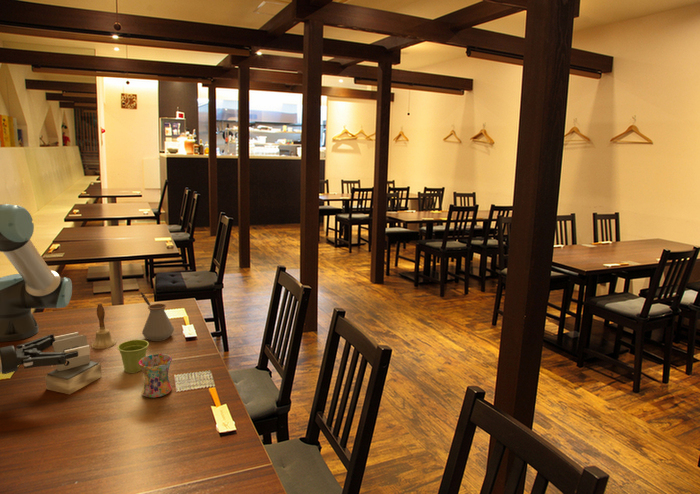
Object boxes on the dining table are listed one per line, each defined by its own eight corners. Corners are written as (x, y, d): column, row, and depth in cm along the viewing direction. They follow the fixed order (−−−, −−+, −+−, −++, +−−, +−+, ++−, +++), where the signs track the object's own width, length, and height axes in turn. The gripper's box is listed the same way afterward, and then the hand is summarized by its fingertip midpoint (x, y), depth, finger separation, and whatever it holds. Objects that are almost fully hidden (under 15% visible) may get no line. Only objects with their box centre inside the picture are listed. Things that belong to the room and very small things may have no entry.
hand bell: (100, 350, 170) (96, 309, 166) (86, 345, 174) (82, 304, 170) (120, 343, 177) (118, 303, 173) (107, 338, 181) (104, 298, 177)
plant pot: (152, 362, 162) (150, 338, 160) (147, 374, 153) (146, 350, 151) (122, 364, 160) (121, 340, 158) (116, 377, 151) (114, 352, 149)
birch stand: (79, 372, 153) (78, 357, 152) (101, 376, 151) (100, 362, 150) (46, 389, 142) (44, 373, 141) (69, 394, 140) (67, 379, 139)
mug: (177, 394, 142) (175, 362, 139) (144, 403, 136) (142, 370, 134) (166, 378, 151) (164, 348, 149) (135, 386, 146) (133, 354, 143)
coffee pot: (179, 338, 183) (177, 301, 180) (149, 346, 175) (147, 307, 172) (156, 322, 198) (154, 288, 195) (128, 329, 190) (126, 294, 187)
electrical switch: (57, 372, 142) (54, 343, 141) (53, 368, 146) (49, 340, 144) (91, 363, 149) (88, 335, 148) (85, 359, 152) (82, 332, 151)
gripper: (-5, 358, 142) (75, 341, 156) (7, 390, 124) (95, 367, 138) (-8, 335, 140) (73, 320, 154) (3, 364, 122) (93, 344, 137)
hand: (83, 342), depth 146 cm, fingers open, 12 cm apart
